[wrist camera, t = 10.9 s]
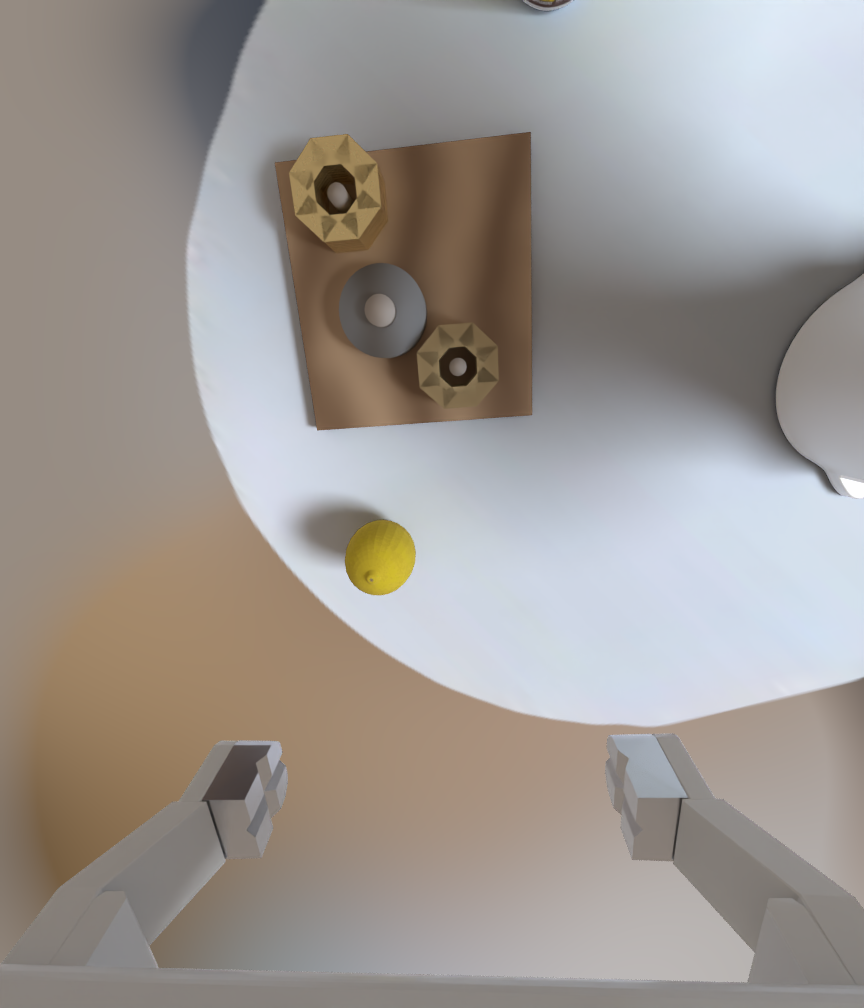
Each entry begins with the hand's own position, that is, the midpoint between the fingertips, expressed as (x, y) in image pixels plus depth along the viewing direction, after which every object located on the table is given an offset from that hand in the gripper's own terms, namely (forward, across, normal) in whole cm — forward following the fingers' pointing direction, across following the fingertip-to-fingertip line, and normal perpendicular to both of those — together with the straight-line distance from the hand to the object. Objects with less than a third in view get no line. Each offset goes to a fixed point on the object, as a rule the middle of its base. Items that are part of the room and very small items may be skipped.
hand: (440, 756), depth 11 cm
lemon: (+27, +6, +5) cm, 28 cm away
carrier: (+27, +2, -14) cm, 31 cm away
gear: (+26, +6, -20) cm, 33 cm away
